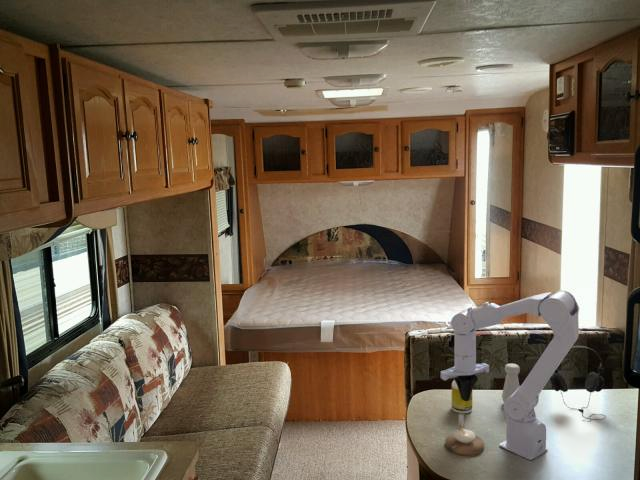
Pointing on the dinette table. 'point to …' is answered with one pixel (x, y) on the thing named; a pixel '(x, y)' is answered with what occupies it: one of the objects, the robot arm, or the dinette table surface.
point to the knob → (463, 432)
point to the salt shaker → (510, 380)
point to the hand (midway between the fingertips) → (465, 399)
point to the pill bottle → (460, 401)
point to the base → (464, 446)
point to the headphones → (591, 383)
